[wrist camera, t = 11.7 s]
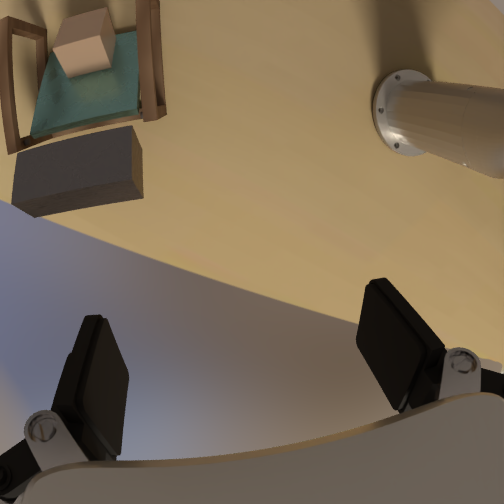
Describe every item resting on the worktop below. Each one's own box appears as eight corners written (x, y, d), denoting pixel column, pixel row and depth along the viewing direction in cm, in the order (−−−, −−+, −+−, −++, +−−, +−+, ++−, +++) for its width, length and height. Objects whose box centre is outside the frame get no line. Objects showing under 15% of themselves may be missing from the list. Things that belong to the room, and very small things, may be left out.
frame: (159, 1, 27) (149, -28, 19) (166, 114, 34) (157, 119, 25) (38, 32, 26) (-2, 20, 17) (47, 139, 32) (8, 154, 23)
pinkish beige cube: (116, 38, 28) (107, 6, 23) (111, 67, 27) (99, 35, 22) (75, 48, 27) (63, 19, 22) (68, 78, 26) (52, 48, 21)
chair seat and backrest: (145, 45, 31) (140, 19, 27) (143, 198, 28) (131, 179, 23) (57, 66, 29) (45, 44, 25) (34, 217, 26) (11, 204, 22)
